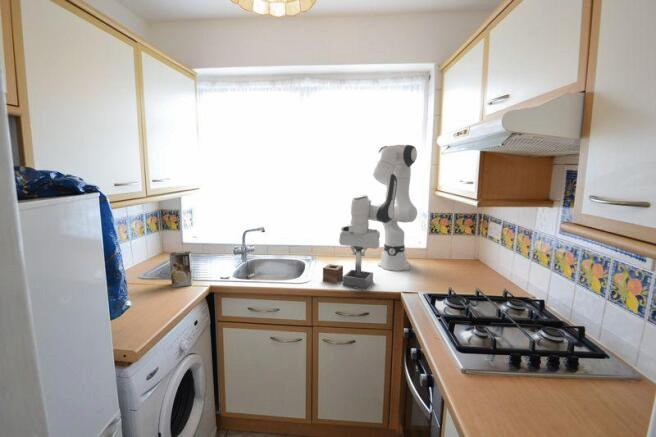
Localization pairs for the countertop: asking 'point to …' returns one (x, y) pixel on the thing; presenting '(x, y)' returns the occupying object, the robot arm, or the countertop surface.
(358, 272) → the steel pin
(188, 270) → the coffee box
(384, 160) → the robot arm
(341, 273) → the walnut hitch block
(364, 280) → the charcoal tray
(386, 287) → the countertop surface
